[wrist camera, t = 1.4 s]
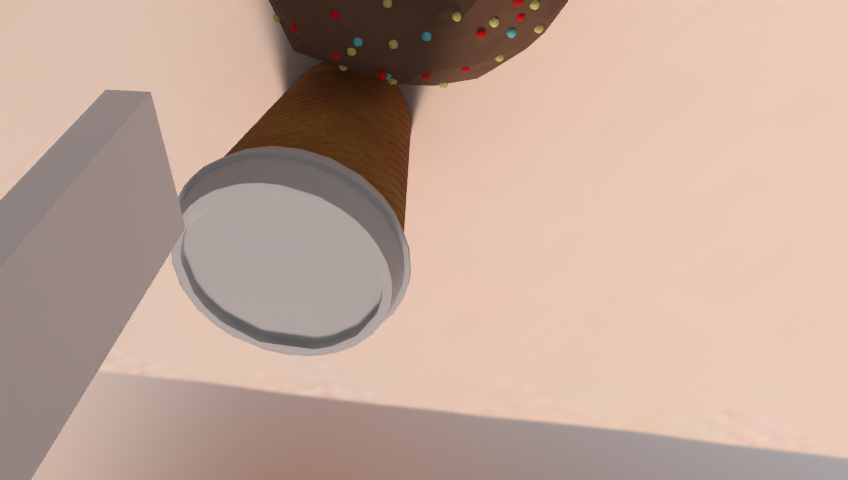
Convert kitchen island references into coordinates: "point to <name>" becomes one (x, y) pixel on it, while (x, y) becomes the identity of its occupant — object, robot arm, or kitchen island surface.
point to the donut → (415, 35)
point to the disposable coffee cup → (304, 218)
